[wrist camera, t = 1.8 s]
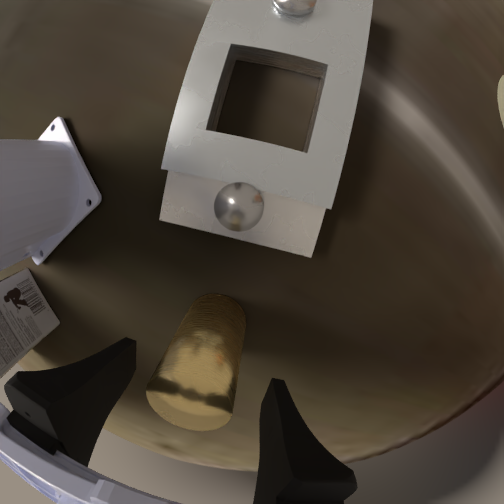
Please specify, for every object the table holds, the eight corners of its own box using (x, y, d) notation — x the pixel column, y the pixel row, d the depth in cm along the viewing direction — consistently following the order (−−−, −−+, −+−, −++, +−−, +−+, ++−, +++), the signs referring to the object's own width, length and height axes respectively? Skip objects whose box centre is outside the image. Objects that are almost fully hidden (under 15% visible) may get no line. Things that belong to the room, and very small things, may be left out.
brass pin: (209, 351, 19) (183, 436, 11) (177, 309, 18) (129, 385, 11) (257, 330, 18) (249, 419, 11) (224, 283, 18) (195, 360, 10)
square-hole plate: (308, 252, 17) (317, 270, 13) (166, 216, 17) (144, 226, 13) (362, 16, 12) (377, -7, 9) (232, -13, 12) (226, -39, 9)
